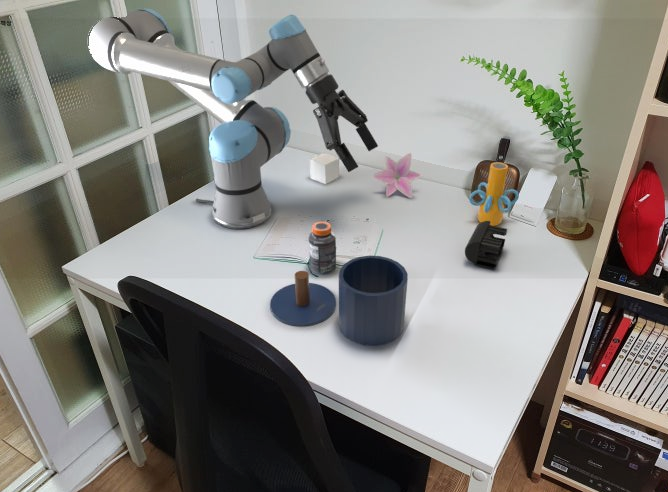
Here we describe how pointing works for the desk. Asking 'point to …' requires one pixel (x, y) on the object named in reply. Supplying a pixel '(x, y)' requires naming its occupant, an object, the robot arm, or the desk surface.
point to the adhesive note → (324, 168)
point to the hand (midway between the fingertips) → (363, 158)
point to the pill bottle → (322, 249)
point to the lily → (397, 176)
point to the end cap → (485, 245)
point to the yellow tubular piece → (494, 195)
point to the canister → (372, 300)
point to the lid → (303, 302)
